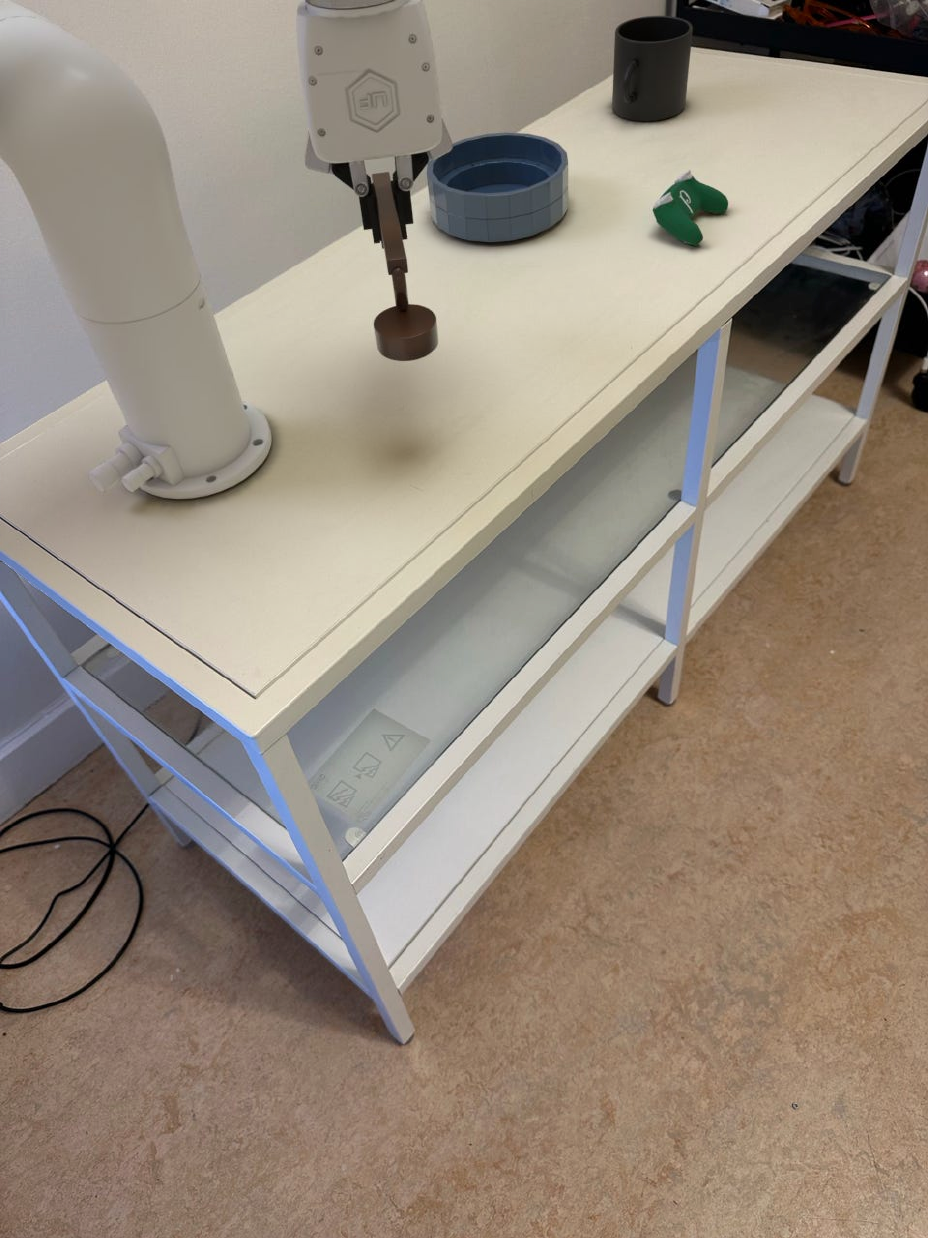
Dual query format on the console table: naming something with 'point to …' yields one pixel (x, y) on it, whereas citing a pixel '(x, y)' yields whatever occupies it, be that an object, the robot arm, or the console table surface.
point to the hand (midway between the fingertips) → (389, 232)
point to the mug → (651, 67)
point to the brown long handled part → (399, 290)
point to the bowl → (499, 187)
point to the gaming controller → (687, 207)
